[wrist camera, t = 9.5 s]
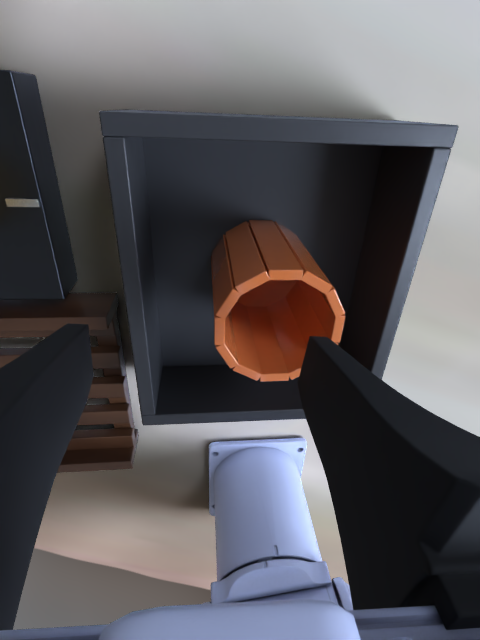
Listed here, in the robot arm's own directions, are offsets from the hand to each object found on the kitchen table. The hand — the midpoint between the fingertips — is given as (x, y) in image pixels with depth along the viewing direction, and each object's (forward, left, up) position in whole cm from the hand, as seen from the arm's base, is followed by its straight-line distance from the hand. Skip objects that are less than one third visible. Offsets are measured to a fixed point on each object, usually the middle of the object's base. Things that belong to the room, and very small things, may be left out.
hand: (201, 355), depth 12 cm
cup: (-1, -3, -10) cm, 10 cm away
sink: (-1, -3, -10) cm, 11 cm away
